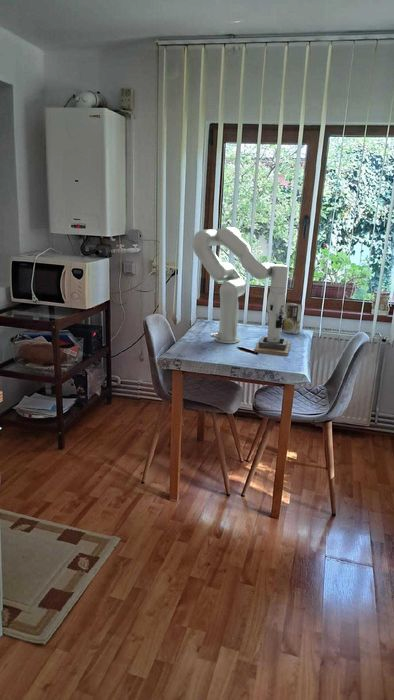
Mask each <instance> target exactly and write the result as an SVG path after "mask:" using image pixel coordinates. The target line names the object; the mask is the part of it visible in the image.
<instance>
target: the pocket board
mask: <svg viewBox="0 0 394 700" xmlns="http://www.w3.org/2000/svg"><path fill="white" fill-rule="evenodd" d="M290 347H291V341H289V340H288V338H285V337H284V338H282V337H280V342H279V344H278V343H268V342H267V336H265V335H264V336H263V335H262V336H261V337H260V338H259V340H258V341H257V343H256V345H255V347H254V349H253V352H254V353H256V352H257V353H258V354H268V355H276V356H277V355H278V356H285V357H287V356H288V355H289V351H290Z"/></svg>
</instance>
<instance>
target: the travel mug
mask: <svg viewBox="0 0 394 700" xmlns="http://www.w3.org/2000/svg"><path fill="white" fill-rule="evenodd" d="M279 314H281V312H279ZM280 316H281V315H279V317H280ZM268 319H269V324H268V323H267V333H266V335H267V336H266V337H267V342H268V343H278V344H279V342H280V338H281V331H282V328H276V320H277V315H275V314H273V305H270V313H269V317H268Z"/></svg>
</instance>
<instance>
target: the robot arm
mask: <svg viewBox="0 0 394 700" xmlns="http://www.w3.org/2000/svg"><path fill="white" fill-rule="evenodd" d="M215 246H216V247H217V246H223V247H225V248H226V249H227V250H228V251H229V252H230V253H232V255H234V257H236V258H237V260H238V261H239V263H240V264H241V266H242V267H243V269H245V270H246V272H247V273H248V274H250V275H251V276H252V277H253V278H255V279H256V280H265V279H269V278H270V288H269V294H268V296H267V303H266V311H267V314H268V315H267V317H268V322H267V325H268V324H269V313H270V305H273V314H275V315H277V320H276V328H281V329H282V320H283V318H284V316H285V315H286V313H285V304H286V292H287V291H286V290H287V281H288V270H289V268H288V265H286V264H279V263H277V264H276V263H271V262H260V260H258V259H257V258H256V256H254V254H252V251H251V246H250V244H249V243H248V242H246V240H244V239H243V238H242V236H241V232H240V230H239V229H238V228H236V227H230V226H229V227H223V228H213V229H212V228H211V229H209V228H207V229H200V230H199V231H197V232H196V233H195V234H194V236H193V238H192V250H193V252H194V254H195V256H196V257H197V259H198V260H199V261H200V263H201V264H202V266H203V268H204V269H205V270H206V271H207V273H208V274H209V276H210V277H211V279H212V280H213V281H215V282H219V283H220V282H222V284H221V285H220V287H219V298H220V299H219V301H220V303H219V304H220V305H219V324H218V331H216V332H215V333H210V334H209V337H210V338H214V339H215V341H216V342H218V343H222V344H237V343H239V342H240V341H241V340H240V338H239V337H238V326H239V325H238V323H239V309H240V308H239V307H240V305H239V297H241V296H243V295H244V294H245V293H246V291H247V285H246V282H245V281H244V279H243V277H242V276H241V275H240V274H239V272H238V270H237V269H236V268H235V266H234V265H233V264H232V263H230V262H229V261H221V259H220V258H219V256H218V255H217V254H216V253H215V251H214V250H213V249H212V248H211V247H215ZM279 312H281V314H279ZM279 315H281V316H280V317H279Z"/></svg>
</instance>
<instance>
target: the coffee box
mask: <svg viewBox="0 0 394 700" xmlns="http://www.w3.org/2000/svg"><path fill="white" fill-rule="evenodd" d="M302 311H303V304H301V303H292V302H285V313H286V315H285V316H284V318H283V320H282V328H281V332H282V333H288V334H294V335H297V334H299V333H300V331H301V321H302ZM281 332H280V333H281Z"/></svg>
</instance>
